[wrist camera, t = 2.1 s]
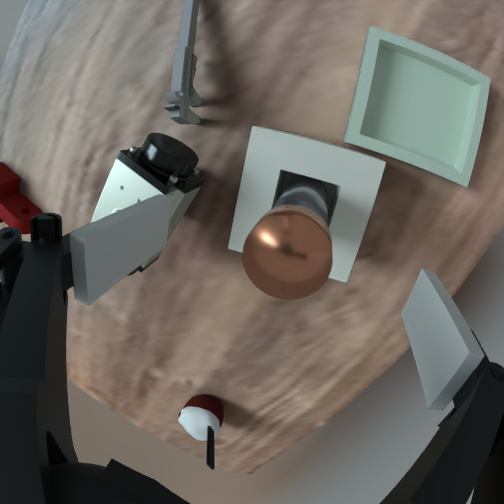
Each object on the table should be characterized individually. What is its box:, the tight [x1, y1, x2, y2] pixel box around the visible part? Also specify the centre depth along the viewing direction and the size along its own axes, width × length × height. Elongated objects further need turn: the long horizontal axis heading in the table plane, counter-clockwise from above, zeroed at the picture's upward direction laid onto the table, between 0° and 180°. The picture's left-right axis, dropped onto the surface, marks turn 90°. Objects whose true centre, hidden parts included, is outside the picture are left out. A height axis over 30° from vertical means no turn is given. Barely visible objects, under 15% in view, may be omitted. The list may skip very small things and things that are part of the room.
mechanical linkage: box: [0, 162, 40, 234], centre depth 35 cm, size 16×7×5 cm, turn 62°
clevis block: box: [228, 126, 386, 283], centre depth 25 cm, size 10×10×6 cm
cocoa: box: [178, 395, 223, 470], centre depth 37 cm, size 10×6×12 cm, turn 91°
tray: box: [344, 26, 490, 187], centre depth 21 cm, size 11×12×2 cm
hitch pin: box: [242, 175, 333, 300], centre depth 20 cm, size 4×4×15 cm
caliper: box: [163, 0, 202, 124], centre depth 21 cm, size 20×1×6 cm, turn 2°
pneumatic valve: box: [91, 133, 205, 276], centre depth 25 cm, size 6×12×12 cm, turn 145°
